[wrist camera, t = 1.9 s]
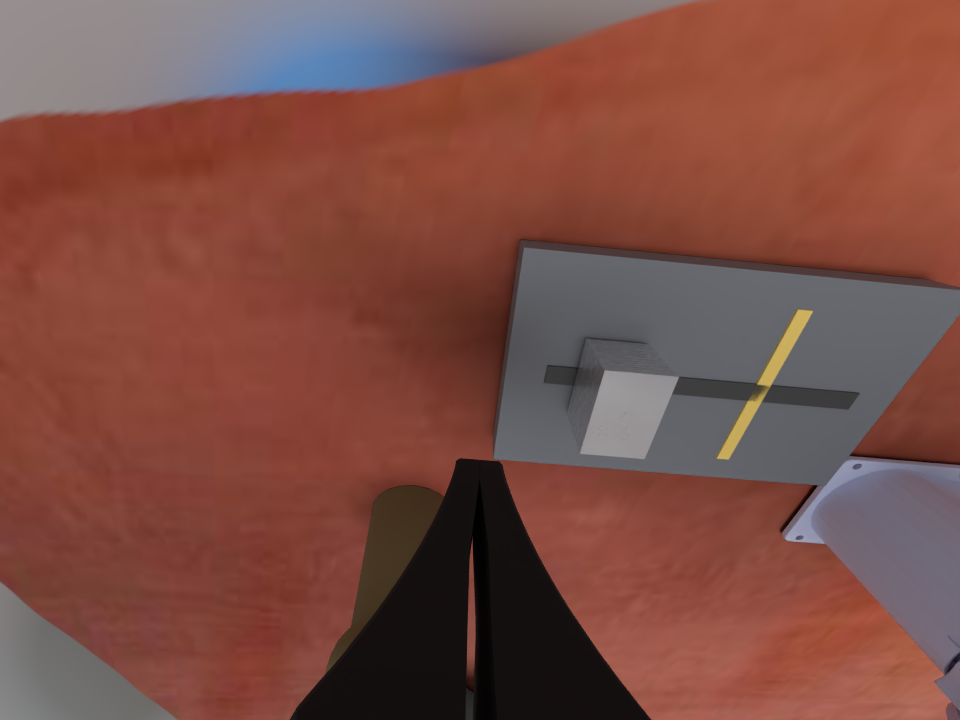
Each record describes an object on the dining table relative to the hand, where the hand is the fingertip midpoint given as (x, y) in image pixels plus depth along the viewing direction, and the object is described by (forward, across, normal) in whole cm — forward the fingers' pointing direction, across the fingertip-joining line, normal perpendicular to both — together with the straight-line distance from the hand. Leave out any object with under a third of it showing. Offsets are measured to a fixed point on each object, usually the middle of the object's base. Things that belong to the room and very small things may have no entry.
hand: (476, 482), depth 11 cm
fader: (+7, -6, 0) cm, 10 cm away
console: (+9, -11, 0) cm, 15 cm away
